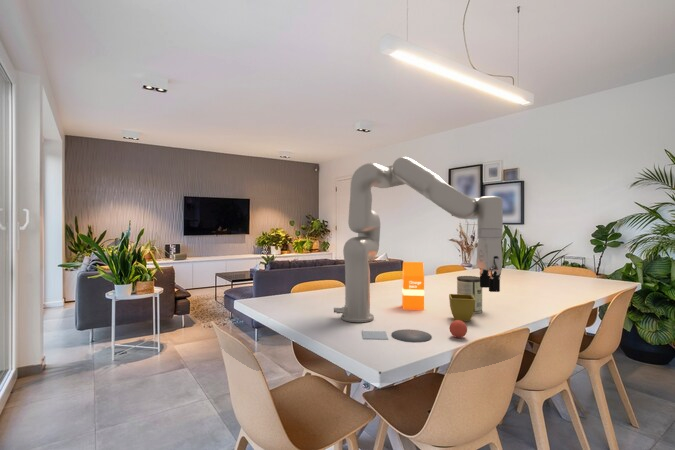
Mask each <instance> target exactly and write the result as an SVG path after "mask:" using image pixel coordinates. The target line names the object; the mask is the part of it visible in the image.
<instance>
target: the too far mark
mask: <svg viewBox="0 0 675 450" xmlns="http://www.w3.org/2000/svg"><path fill="white" fill-rule="evenodd" d="M361 333H362V339H363V340H389V336H388V334H387V332H386V330H381V331H380V330H378V331H376V330H375V331H374V330H372V331H371V330H369V331H368V330H362V331H361Z"/></svg>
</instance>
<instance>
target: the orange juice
mask: <svg viewBox="0 0 675 450" xmlns="http://www.w3.org/2000/svg"><path fill="white" fill-rule="evenodd" d="M424 270H425V269H424V262H422V261H403V262H402V274H401V275H402V277H401V278H402V280H401V281H402V287H401V293H402V295H401V299H402V300H401V301H402V303H401V306H402V308H403V309H402V310H415V311H416V310H419V311H421V310H422V311H423V310H425V275H424V274H425V273H424V272H425V271H424Z"/></svg>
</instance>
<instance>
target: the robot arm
mask: <svg viewBox="0 0 675 450" xmlns="http://www.w3.org/2000/svg"><path fill="white" fill-rule="evenodd" d="M403 185H406V186H408V187H410V188H411V189H413V190H414V191H416V192H417V193H418V194H420V195H421V196H423V197H425V198H426V199H427V200H428V201H431V202H432V203H434V205H436V206H437V207H440V208H441V209H442V210H444V211H446V212H447V213H448V214H450V215H452V216H453V217H454V218H457V219H461V220H472V219H477V233H476V234H477V235H476V236H477V246H476V261H475V263H476V267H477V268H478V269H479V277H480V287H481V288H482V289H483V288H484V289H485V288H488V292H490V293H493V292H494V293H499V292H500V291H501V287H500V286H501V273H502V271H503V249H502V240H503V232H504V231H503V217H504V216H503V213H504V212H503V211H504V208H503V206H504V203H503V202H504V201H503V198H502V197H500V196H497V195H491V196H490V195H489V196H488V195H487V196H480V197H470V196H468V195H466V194H464V193H463V192H462V191H459V190H457V189H456V188H454V187H453V186H452V185H450V184H448V183H447V182H445V180H443V179H442V177H440V176H439V175H438V174H436V173H435V172H433V171H432V170H431V169H428V168H426V167H424V166H423V165H422V164H420V163H419V162H417V161H416V160H414V159H412V158H410V157H407V156H401V157H398V158H397V159H395V160H394V162H393V163H392V165H387V166H384V165H381V164H378V163H374V162H369V163H365V164H362V165H361V166H359V167H358V168H357V169H355V171H353V175H352V176H351V180H350V194H349V195H350V196H349V205H348V208H349V209H348V220H347V221H348V222H347V223H348V228H349V229H350V231H351V232H353V233H356V234H357V236H353V237H350V238H349V239H348V240H347V241H345V243H344V246H343V251H342V253H343V259H344V270H345V271H344V275H345V276H344V277H345V278H344V279H345V285H344V286H345V289H344V291H345V294H344V295H345V297H344V299H345V300H344V303H345V304H344V305H343V306H342V307H333V313H334V314H335V313H336V314H338V315H339V314H341V315H340V316H341V318H340V319H342V320H343V321H345V322H349V323H367V322H372V321H373V320H374V319H375V315H374V314H372V313H371V310H370V309H371V271H370V269H371V268H370V263H369V260H371V259H374V258H375V257H376V256H377V254H379V248H380V239H381V238H380V237H381V219H380V216H379V215H378V213H377V212H376V211H375V210H373V209H372V204H373V195H372V188H377V189H378V188H379V189H388V188H393V187H394V188H395V187H398V186H403Z"/></svg>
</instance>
